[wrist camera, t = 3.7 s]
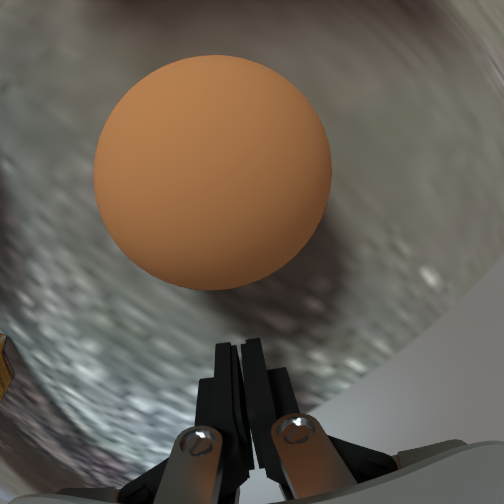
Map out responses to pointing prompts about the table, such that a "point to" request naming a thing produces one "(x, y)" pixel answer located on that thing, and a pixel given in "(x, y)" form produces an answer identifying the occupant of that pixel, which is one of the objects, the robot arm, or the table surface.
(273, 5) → the table surface
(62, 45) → the table surface
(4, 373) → the pancake mix bag
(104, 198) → the ball
